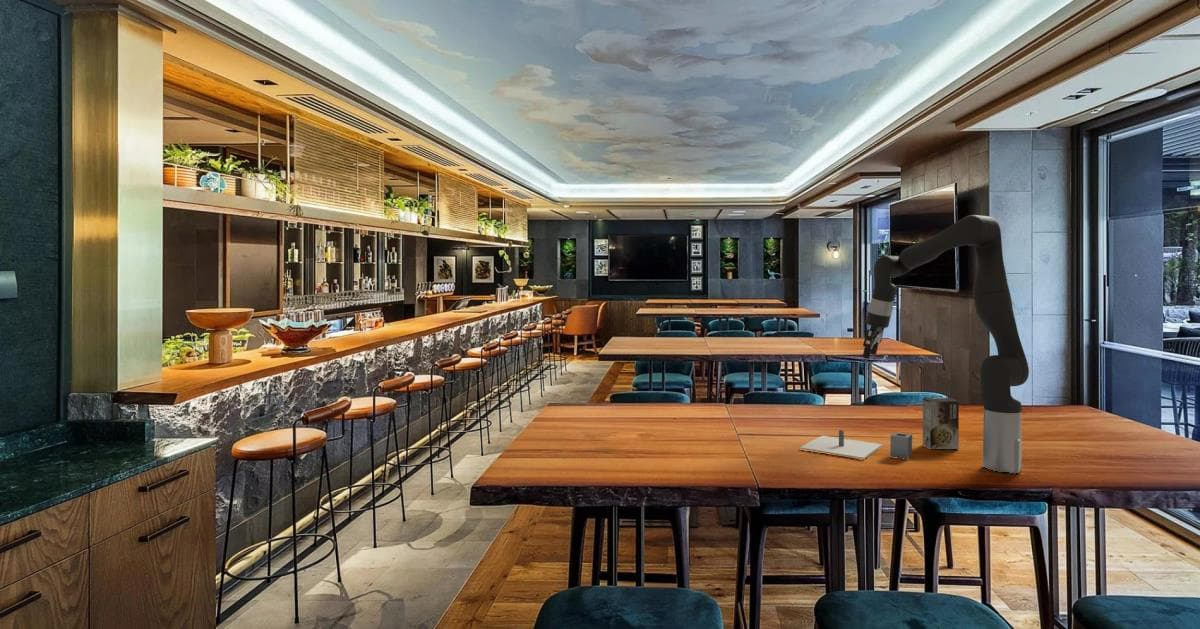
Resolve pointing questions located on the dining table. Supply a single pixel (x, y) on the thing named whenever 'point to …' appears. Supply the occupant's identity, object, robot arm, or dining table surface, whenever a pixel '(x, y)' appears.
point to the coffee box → (941, 423)
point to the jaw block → (901, 445)
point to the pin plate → (842, 446)
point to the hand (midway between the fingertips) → (869, 356)
